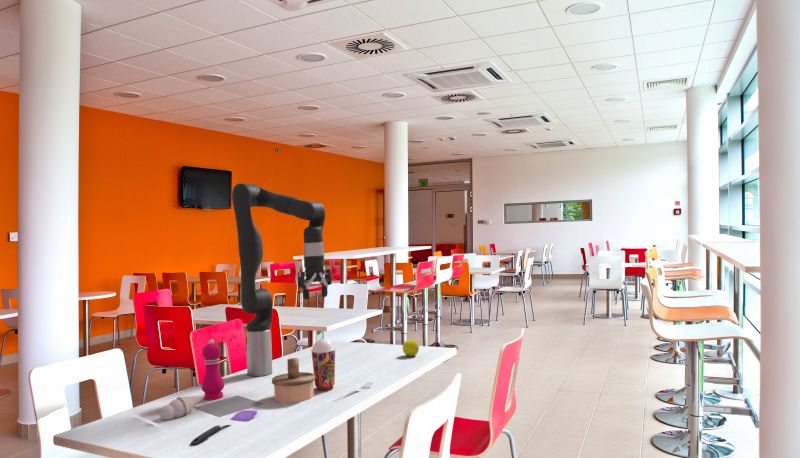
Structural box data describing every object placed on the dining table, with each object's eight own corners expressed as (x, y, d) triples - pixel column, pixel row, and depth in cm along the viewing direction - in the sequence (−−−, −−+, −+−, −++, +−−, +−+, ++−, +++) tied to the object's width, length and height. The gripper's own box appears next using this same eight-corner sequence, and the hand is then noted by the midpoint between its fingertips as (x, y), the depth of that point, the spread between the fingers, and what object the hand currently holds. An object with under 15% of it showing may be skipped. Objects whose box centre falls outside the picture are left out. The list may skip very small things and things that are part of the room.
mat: (192, 409, 180) (192, 407, 180) (237, 397, 192) (237, 395, 192) (219, 418, 169) (219, 416, 169) (265, 405, 181) (264, 403, 181)
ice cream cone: (208, 408, 180) (164, 430, 168) (198, 394, 183) (154, 415, 171) (213, 396, 177) (168, 417, 166) (202, 382, 180) (157, 402, 168)
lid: (263, 382, 187) (262, 360, 187) (297, 373, 197) (296, 353, 197) (289, 388, 178) (288, 366, 178) (323, 378, 188) (323, 357, 188)
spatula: (201, 448, 147) (201, 439, 147) (181, 446, 149) (181, 436, 149) (259, 419, 169) (259, 411, 169) (240, 417, 171) (240, 409, 172)
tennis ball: (402, 354, 249) (401, 338, 249) (417, 353, 250) (417, 337, 250) (403, 358, 242) (403, 341, 242) (420, 357, 243) (419, 340, 243)
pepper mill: (229, 396, 193) (226, 337, 193) (215, 402, 186) (213, 341, 187) (211, 395, 196) (209, 337, 196) (197, 401, 189) (195, 341, 189)
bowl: (267, 400, 187) (266, 382, 187) (297, 391, 196) (297, 374, 196) (290, 406, 179) (289, 387, 179) (321, 397, 188) (320, 379, 188)
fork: (322, 405, 180) (322, 399, 180) (367, 386, 201) (366, 381, 201) (330, 406, 178) (329, 401, 178) (374, 387, 199) (374, 382, 199)
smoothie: (332, 392, 194) (330, 333, 194) (309, 391, 195) (307, 333, 195) (340, 385, 202) (337, 329, 202) (317, 385, 203) (315, 329, 204)
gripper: (322, 253, 221) (323, 295, 221) (292, 255, 211) (294, 299, 211) (334, 253, 216) (336, 296, 216) (305, 255, 206) (306, 300, 206)
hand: (315, 298), depth 213 cm, fingers open, 8 cm apart
